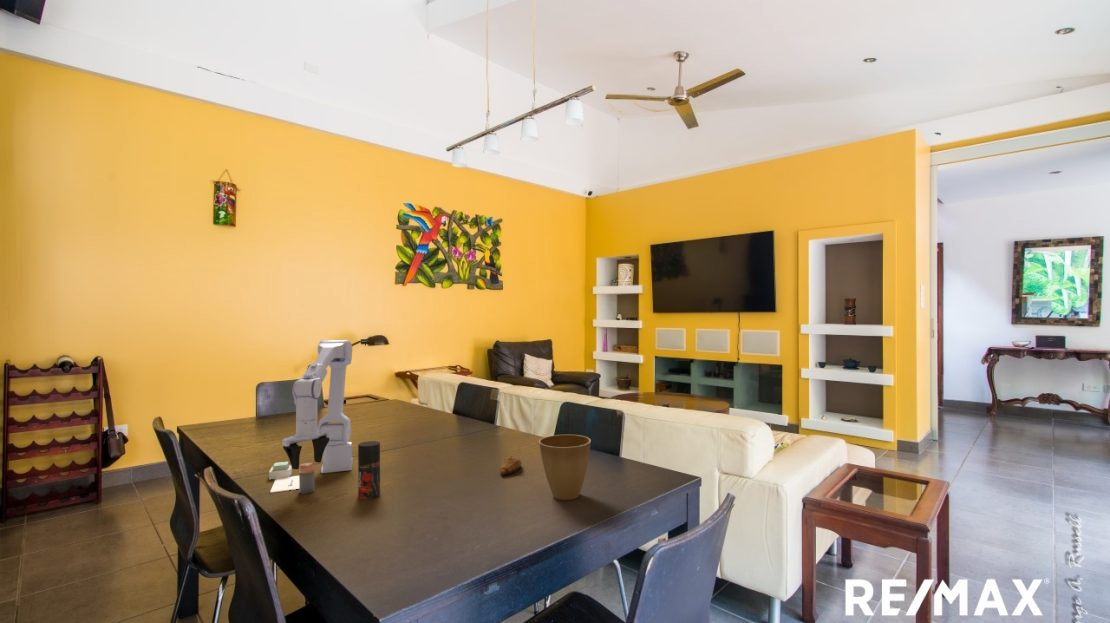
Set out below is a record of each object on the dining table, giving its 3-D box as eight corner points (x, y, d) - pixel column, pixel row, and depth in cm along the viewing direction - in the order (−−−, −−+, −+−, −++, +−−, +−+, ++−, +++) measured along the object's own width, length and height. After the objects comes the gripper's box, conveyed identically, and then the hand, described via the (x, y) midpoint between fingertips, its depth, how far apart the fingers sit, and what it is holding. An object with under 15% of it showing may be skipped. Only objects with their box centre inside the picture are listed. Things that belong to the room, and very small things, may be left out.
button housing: (292, 472, 168) (292, 464, 168) (290, 477, 163) (290, 469, 163) (271, 474, 166) (271, 466, 166) (269, 479, 160) (269, 472, 160)
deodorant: (384, 493, 147) (384, 442, 147) (369, 500, 142) (369, 447, 142) (369, 490, 150) (369, 440, 150) (353, 497, 144) (353, 444, 144)
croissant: (512, 478, 161) (512, 462, 161) (493, 476, 163) (492, 460, 163) (528, 466, 174) (528, 451, 174) (510, 464, 176) (510, 450, 176)
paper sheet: (310, 475, 165) (310, 474, 165) (307, 488, 152) (307, 487, 152) (276, 479, 161) (276, 478, 161) (269, 493, 148) (269, 491, 148)
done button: (288, 469, 167) (288, 461, 167) (287, 472, 163) (287, 464, 163) (274, 470, 165) (274, 462, 165) (273, 473, 162) (273, 466, 162)
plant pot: (564, 483, 155) (564, 431, 155) (601, 495, 144) (601, 439, 144) (528, 496, 144) (528, 440, 145) (565, 509, 134) (565, 449, 134)
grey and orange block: (314, 488, 152) (314, 462, 152) (314, 492, 148) (314, 465, 148) (299, 490, 150) (299, 463, 151) (298, 494, 147) (298, 467, 147)
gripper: (318, 414, 158) (318, 457, 158) (275, 422, 145) (275, 470, 145) (334, 416, 155) (334, 460, 155) (291, 424, 142) (291, 473, 141)
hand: (306, 465), depth 149 cm, fingers open, 7 cm apart
